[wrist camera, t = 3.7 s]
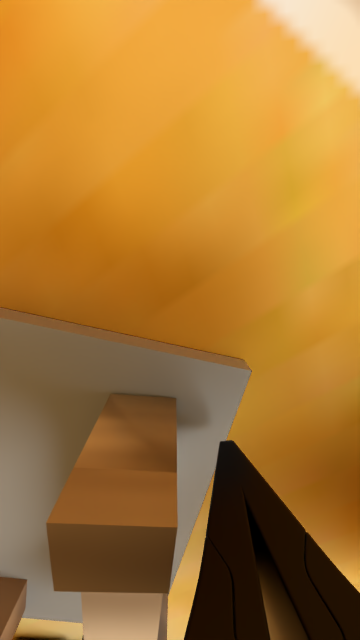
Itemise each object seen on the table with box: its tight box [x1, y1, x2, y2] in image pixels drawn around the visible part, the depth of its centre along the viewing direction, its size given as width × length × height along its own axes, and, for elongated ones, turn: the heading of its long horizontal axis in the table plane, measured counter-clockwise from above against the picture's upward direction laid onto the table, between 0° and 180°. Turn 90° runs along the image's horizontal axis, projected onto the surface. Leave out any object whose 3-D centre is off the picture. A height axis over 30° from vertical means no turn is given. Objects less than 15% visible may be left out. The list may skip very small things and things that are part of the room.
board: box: [0, 308, 252, 623], centre depth 11 cm, size 20×15×1 cm
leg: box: [46, 394, 178, 640], centre depth 8 cm, size 14×4×4 cm, turn 175°
